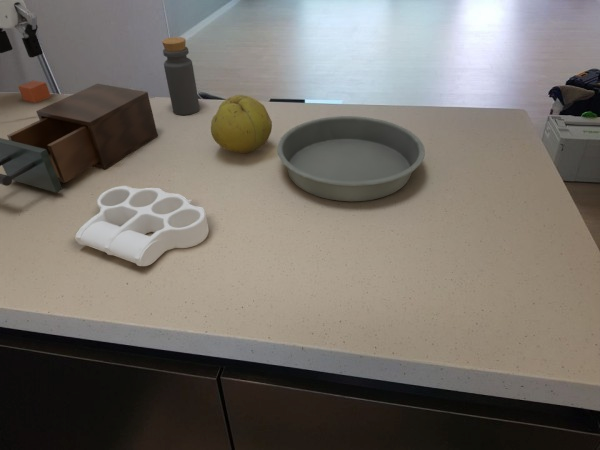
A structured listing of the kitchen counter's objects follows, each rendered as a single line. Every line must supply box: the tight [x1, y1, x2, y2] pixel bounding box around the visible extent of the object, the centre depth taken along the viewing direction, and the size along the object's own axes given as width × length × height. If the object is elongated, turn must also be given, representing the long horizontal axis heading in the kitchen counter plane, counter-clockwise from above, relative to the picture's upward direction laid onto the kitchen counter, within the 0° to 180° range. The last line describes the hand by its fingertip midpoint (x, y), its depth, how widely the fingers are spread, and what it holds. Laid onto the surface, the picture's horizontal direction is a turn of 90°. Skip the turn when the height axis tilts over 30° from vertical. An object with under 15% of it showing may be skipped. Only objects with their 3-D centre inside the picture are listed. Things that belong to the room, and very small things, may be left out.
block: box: [18, 79, 51, 104], centre depth 106 cm, size 4×4×4 cm
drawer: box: [0, 117, 99, 194], centre depth 76 cm, size 19×11×7 cm, turn 155°
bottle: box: [161, 36, 200, 116], centre depth 97 cm, size 6×6×15 cm
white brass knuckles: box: [74, 185, 210, 267], centre depth 65 cm, size 3×18×15 cm
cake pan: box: [276, 115, 426, 202], centre depth 78 cm, size 25×25×4 cm
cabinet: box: [36, 83, 159, 171], centre depth 85 cm, size 15×13×9 cm
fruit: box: [210, 94, 273, 154], centre depth 83 cm, size 11×12×10 cm
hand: (20, 53), depth 100 cm, fingers open, 9 cm apart
